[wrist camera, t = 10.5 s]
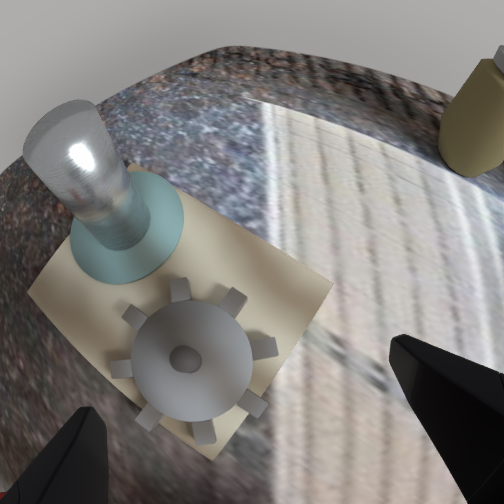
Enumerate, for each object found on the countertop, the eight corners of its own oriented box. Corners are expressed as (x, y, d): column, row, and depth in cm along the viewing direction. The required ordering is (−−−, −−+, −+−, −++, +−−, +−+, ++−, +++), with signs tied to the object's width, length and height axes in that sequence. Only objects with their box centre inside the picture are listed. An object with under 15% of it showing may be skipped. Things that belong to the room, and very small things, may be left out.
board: (216, 468, 18) (208, 486, 14) (24, 293, 23) (-5, 279, 19) (337, 291, 23) (353, 273, 19) (129, 164, 28) (114, 135, 24)
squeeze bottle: (494, 167, 28) (574, 60, 12) (470, 200, 26) (572, 75, 10) (446, 120, 31) (506, 3, 14) (415, 145, 29) (485, 2, 12)
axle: (135, 258, 23) (64, 172, 13) (87, 242, 23) (9, 161, 13) (160, 203, 25) (113, 100, 14) (111, 192, 25) (54, 99, 15)
